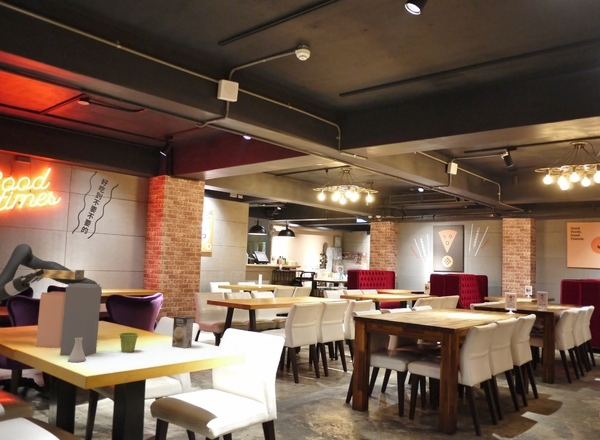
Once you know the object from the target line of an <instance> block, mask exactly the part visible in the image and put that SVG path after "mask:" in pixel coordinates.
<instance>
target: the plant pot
mask: <svg viewBox="0 0 600 440" xmlns="http://www.w3.org/2000/svg"><path fill="white" fill-rule="evenodd" d="M118 335H119V338H120V349H121V352H123V353H131V352H135V348H136V344H137V339H138V337H139V336H140V334H139V333H138V332H120V333H119V334H118Z"/></svg>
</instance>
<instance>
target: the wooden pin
mask: <svg viewBox="0 0 600 440" xmlns="http://www.w3.org/2000/svg"><path fill="white" fill-rule="evenodd" d="M40 270H42V269H36V271H35V270H34V271H35V272H38V271H40ZM43 271H44V273H43V274H41V275H40V276H38V277H42V279H44V278H45V279H46V278H47V279H48V278H49V279H51V278H59V279H76V280H82V279H84V277H85V270H84V269H75V271H74V270H71V271H60V270H43Z"/></svg>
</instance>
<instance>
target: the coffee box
mask: <svg viewBox="0 0 600 440" xmlns="http://www.w3.org/2000/svg"><path fill="white" fill-rule="evenodd" d="M172 326H173V327H172V340H171V341H172V342H171V347H175V348H182V349H187V348H192V343H193V328H194V317H193V316H184V315H177V316H173V325H172Z"/></svg>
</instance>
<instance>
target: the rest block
mask: <svg viewBox="0 0 600 440" xmlns="http://www.w3.org/2000/svg"><path fill="white" fill-rule="evenodd" d="M65 294H66V291H50V292H46V291H45V292H41V294H40V299H39V310H38V320H37V321H38V322H37V331H36V332H37V333H36V340H35V341H36V343H35V347H38V348H39V347H40V348H53V347H54V348H56V349H57V348H59V349H61V339H62V328H63V316H64V305H65Z"/></svg>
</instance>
